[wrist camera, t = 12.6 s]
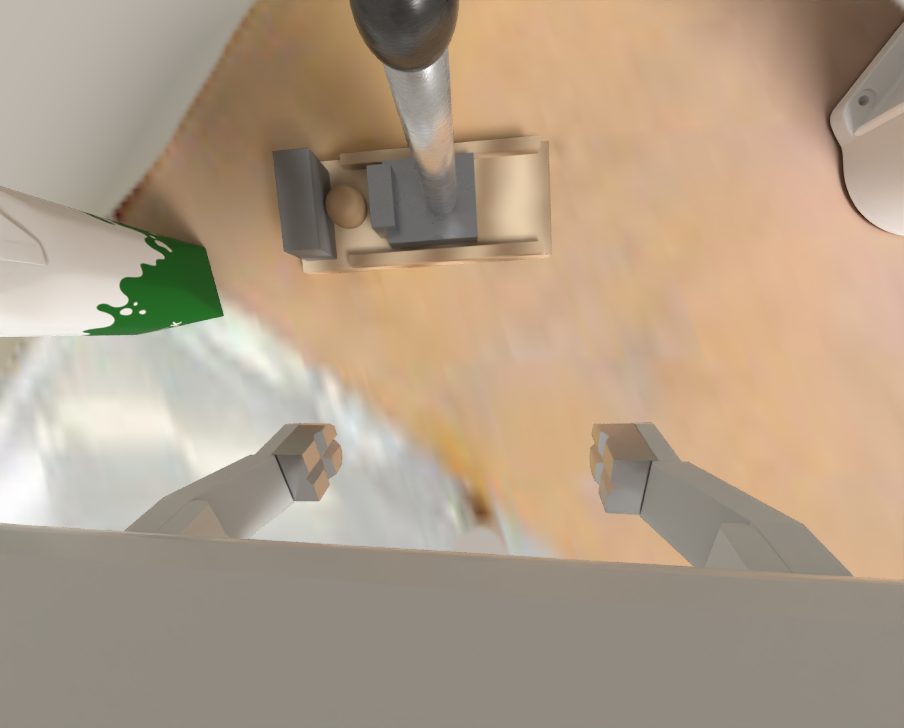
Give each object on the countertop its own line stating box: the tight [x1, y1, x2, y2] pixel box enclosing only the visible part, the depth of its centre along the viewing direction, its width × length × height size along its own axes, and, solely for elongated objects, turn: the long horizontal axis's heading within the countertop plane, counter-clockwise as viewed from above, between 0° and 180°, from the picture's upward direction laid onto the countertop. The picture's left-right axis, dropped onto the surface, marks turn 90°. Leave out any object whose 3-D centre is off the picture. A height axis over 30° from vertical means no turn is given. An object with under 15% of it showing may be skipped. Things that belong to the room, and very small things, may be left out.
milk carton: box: [0, 186, 224, 337], centre depth 24 cm, size 9×9×20 cm
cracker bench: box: [273, 135, 552, 275], centre depth 29 cm, size 24×10×6 cm, turn 94°
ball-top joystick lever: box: [350, 0, 478, 249], centre depth 20 cm, size 9×7×21 cm
